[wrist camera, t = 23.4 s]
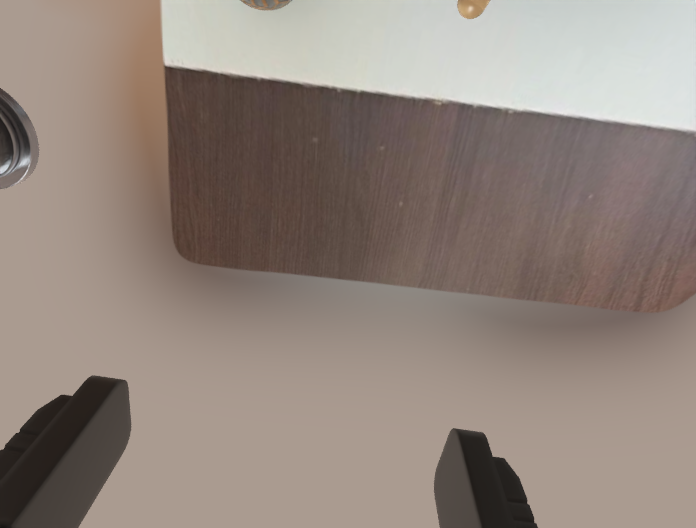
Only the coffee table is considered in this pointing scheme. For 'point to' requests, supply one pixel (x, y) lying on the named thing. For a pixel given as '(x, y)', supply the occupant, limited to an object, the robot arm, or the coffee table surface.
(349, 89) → the coffee table surface
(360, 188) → the coffee table surface
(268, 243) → the coffee table surface
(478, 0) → the wooden mallet
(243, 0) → the vase
